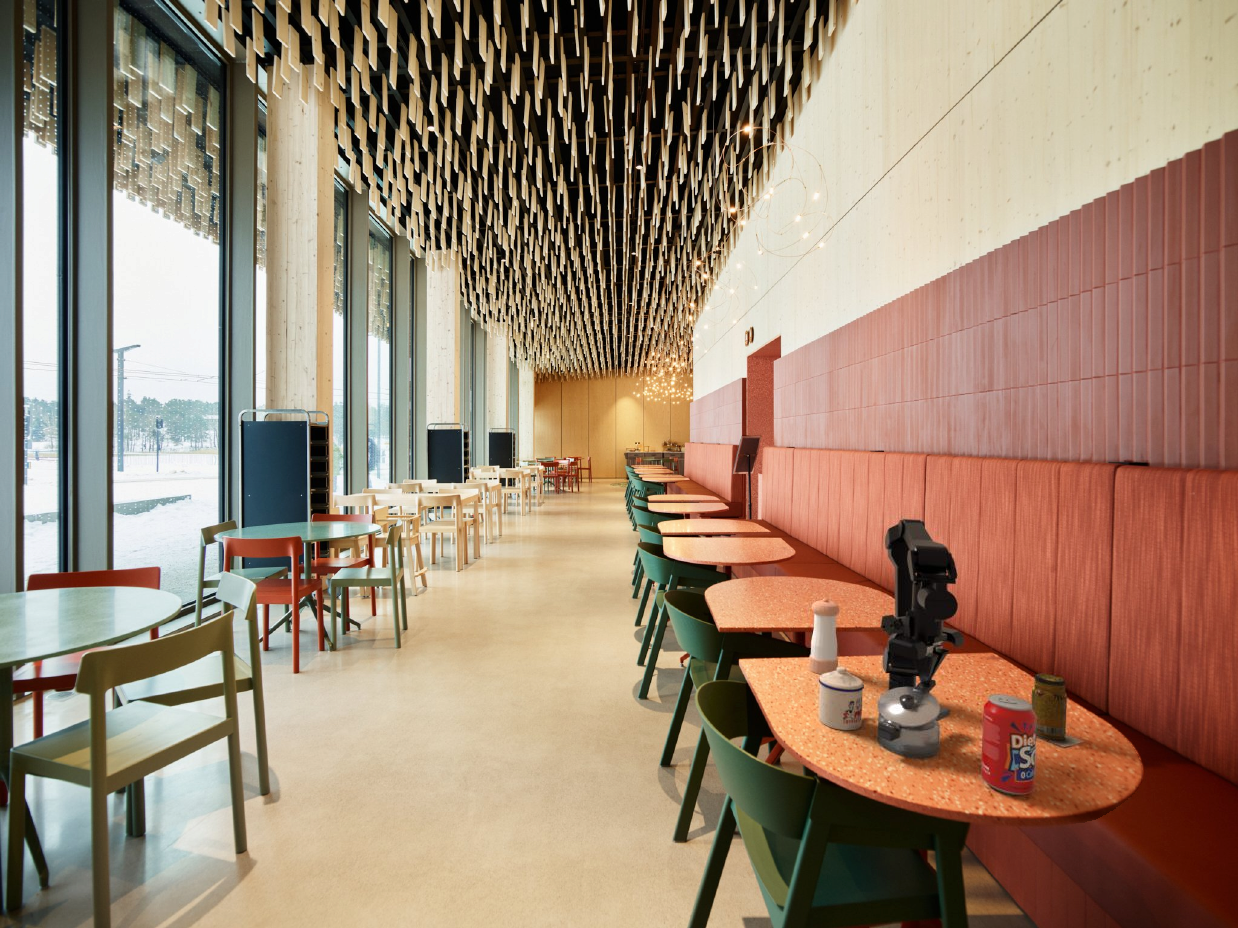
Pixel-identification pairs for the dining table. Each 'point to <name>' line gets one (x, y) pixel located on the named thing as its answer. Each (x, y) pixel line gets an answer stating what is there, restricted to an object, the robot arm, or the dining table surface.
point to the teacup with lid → (840, 700)
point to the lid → (909, 706)
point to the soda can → (1009, 744)
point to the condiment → (1051, 710)
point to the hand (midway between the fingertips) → (924, 683)
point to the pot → (912, 737)
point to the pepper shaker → (824, 637)
